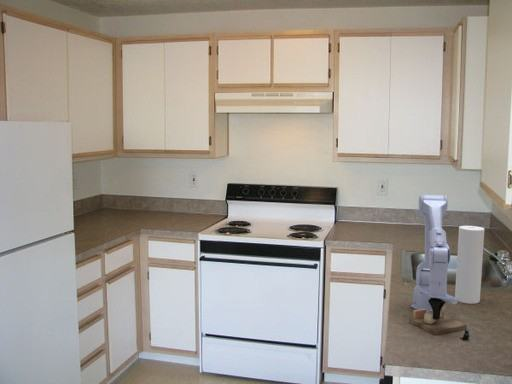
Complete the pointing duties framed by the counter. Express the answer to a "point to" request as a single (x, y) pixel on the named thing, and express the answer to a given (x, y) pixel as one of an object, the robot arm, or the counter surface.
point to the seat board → (439, 325)
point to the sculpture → (465, 336)
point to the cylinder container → (469, 264)
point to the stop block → (419, 313)
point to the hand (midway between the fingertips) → (436, 318)
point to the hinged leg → (429, 316)
